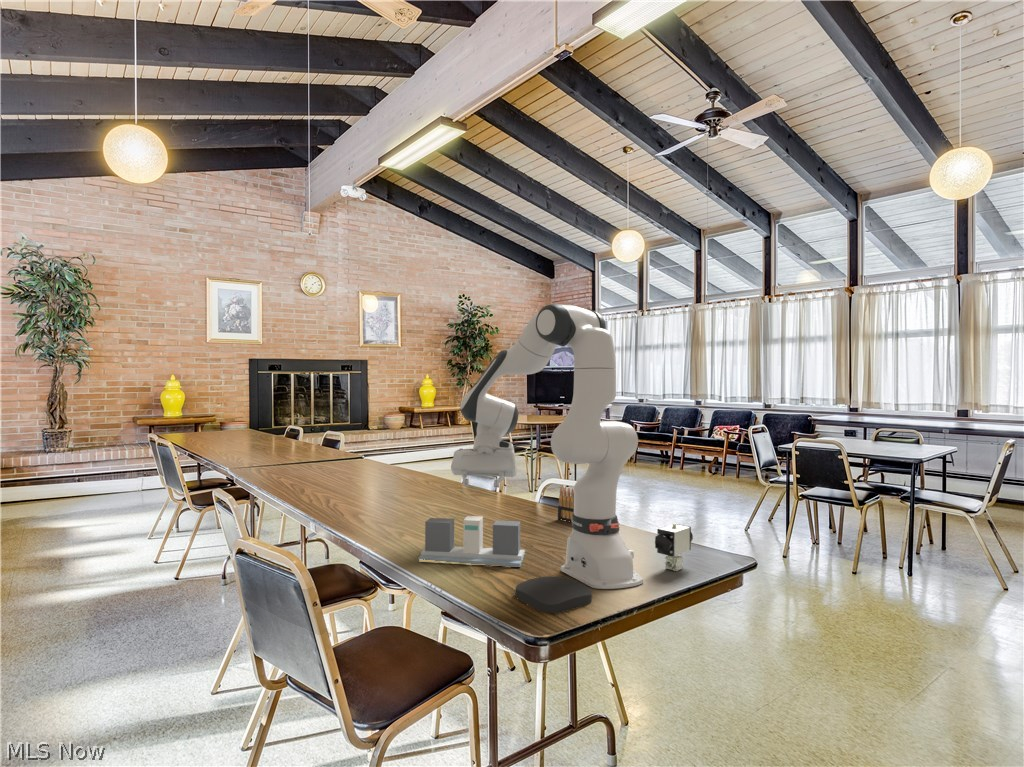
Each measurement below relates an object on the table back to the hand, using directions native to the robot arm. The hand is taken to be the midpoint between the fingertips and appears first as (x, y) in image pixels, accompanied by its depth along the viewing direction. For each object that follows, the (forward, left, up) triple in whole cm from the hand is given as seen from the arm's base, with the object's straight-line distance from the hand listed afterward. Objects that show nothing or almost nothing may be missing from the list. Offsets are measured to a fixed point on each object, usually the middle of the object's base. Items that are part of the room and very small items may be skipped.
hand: (480, 485), depth 166 cm
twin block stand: (-11, +5, -18) cm, 22 cm away
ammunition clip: (+20, -38, -18) cm, 47 cm away
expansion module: (-11, +5, -16) cm, 20 cm away
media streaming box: (-44, -6, -19) cm, 48 cm away
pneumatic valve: (-34, -44, -18) cm, 58 cm away
